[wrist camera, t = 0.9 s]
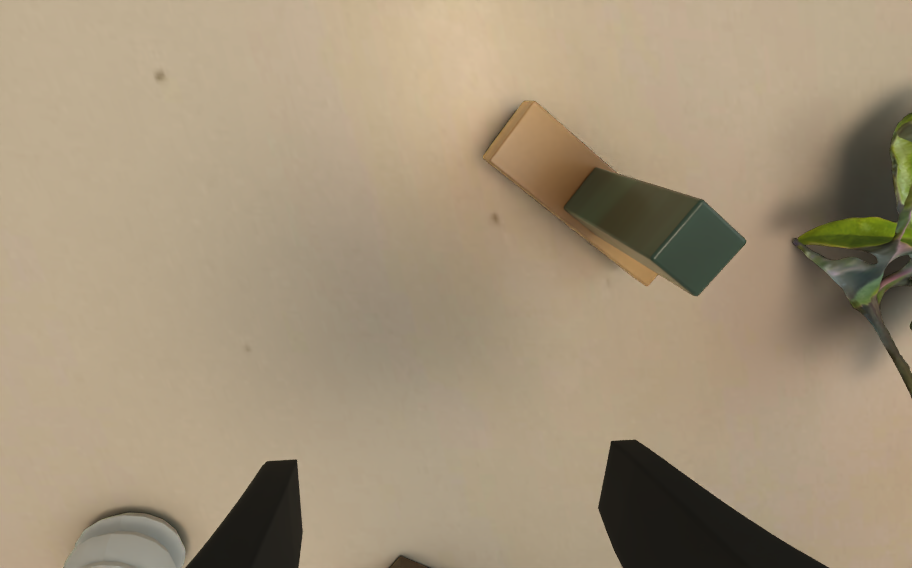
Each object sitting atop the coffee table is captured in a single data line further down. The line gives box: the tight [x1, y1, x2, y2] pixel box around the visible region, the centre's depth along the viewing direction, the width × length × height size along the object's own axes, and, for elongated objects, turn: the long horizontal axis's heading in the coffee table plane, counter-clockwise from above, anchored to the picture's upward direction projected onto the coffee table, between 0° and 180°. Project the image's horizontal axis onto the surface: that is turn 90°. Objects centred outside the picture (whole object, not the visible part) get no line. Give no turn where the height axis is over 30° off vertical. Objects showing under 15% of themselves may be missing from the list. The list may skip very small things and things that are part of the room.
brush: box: [483, 101, 746, 296], centre depth 15 cm, size 8×2×8 cm, turn 53°
